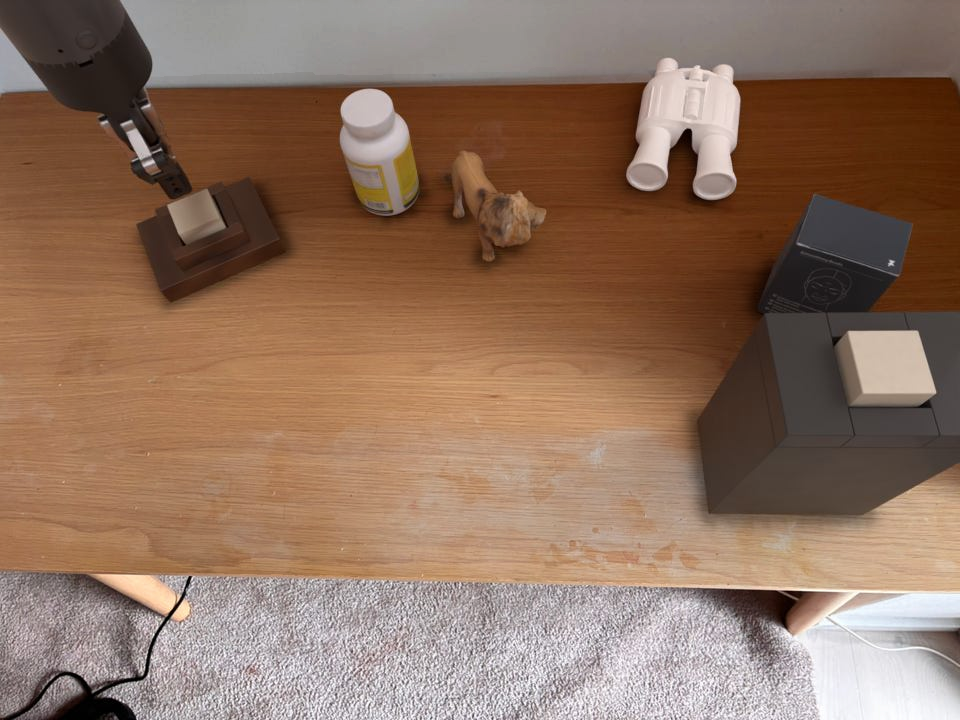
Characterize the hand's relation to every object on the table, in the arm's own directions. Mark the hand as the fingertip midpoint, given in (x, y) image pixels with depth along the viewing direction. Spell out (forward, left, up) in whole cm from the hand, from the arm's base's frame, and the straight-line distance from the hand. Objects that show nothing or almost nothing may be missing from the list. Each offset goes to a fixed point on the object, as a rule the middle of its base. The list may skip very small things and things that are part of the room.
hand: (180, 190), depth 62 cm
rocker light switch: (0, 0, -8) cm, 8 cm away
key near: (+34, -45, +10) cm, 57 cm away
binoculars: (+48, -12, -8) cm, 50 cm away
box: (+46, -34, -8) cm, 58 cm away
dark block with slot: (+34, -45, -8) cm, 57 cm away
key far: (0, 0, -4) cm, 5 cm away
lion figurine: (+25, -12, -8) cm, 29 cm away
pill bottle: (+18, -3, -8) cm, 20 cm away
